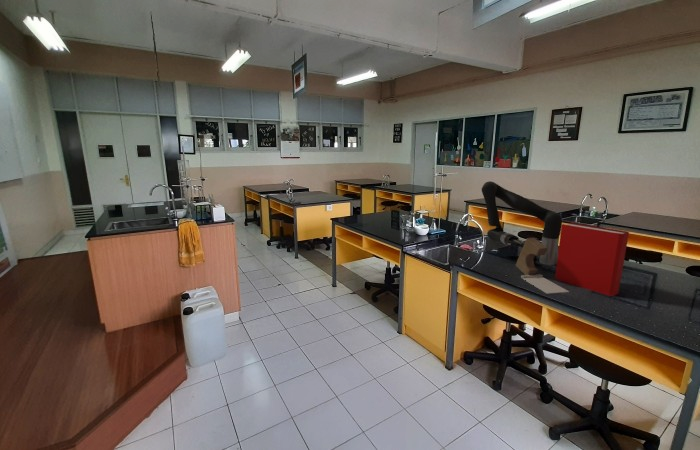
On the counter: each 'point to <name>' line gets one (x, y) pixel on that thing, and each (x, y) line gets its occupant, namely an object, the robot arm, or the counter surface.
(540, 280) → the mat
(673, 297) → the counter surface
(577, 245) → the book
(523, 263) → the decorative block
